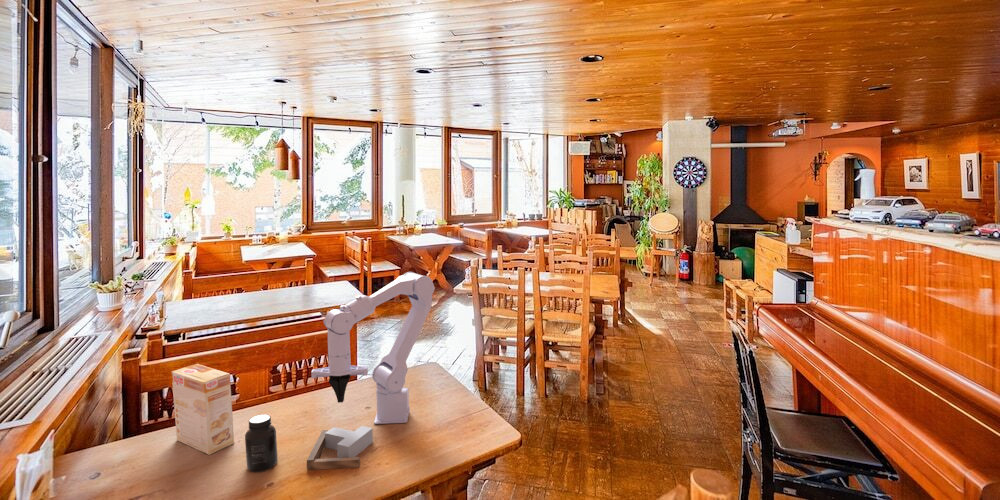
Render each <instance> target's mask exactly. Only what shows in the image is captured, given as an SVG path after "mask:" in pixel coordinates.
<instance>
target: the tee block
mask: <svg viewBox="0 0 1000 500" xmlns="http://www.w3.org/2000/svg"><path fill="white" fill-rule="evenodd" d="M373 437H374V435H373V427H369V426H364V425H361V426H359V427H357V428H356V429H355V430H349V429H344V428H341V427H336V426H333V427H332V428H330V429H328V431H327V432H326V433H325V447H324V448H327V449H331V450H334V451H336V455H337V457H336V458H349V457H358V455H359V454H360V453H362V452H364V450H365V449H367V447H369V446H371V444H372V443H373V442H374V439H373Z"/></svg>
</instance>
